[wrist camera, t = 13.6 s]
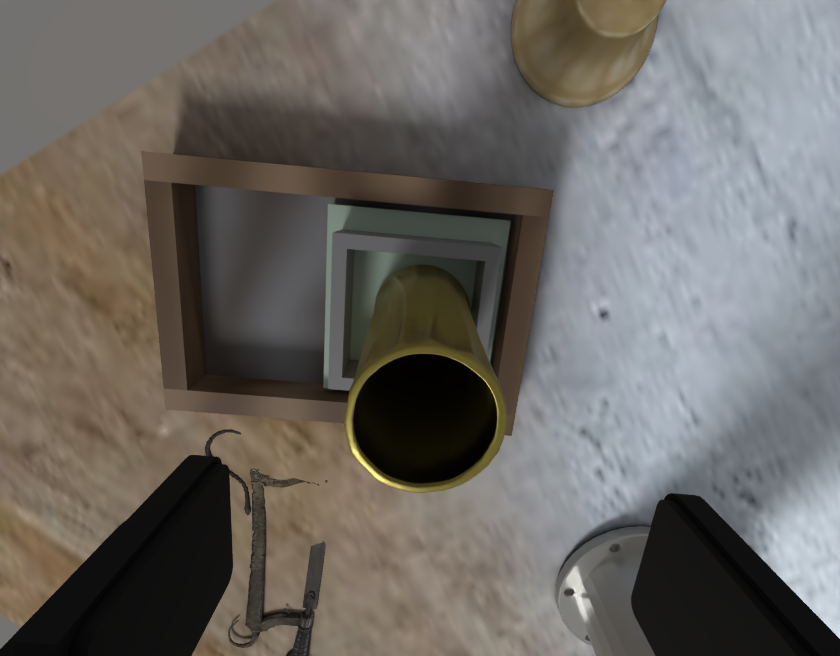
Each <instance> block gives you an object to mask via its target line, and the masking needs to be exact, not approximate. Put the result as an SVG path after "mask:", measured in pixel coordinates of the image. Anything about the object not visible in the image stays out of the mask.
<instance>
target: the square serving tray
mask: <svg viewBox="0 0 840 656" xmlns="http://www.w3.org/2000/svg"><path fill="white" fill-rule="evenodd" d="M509 228H510V221H509V220H501V219H490V218H479V217H468V216H457V215H447V214H436V213H425V212H414V211H403V210H392V209H381V208H370V207H359V206H348V205H338V204H328V220H327V261H326V301H325V342H324V383H323V388H328V389H335V390H347V391H349V390H350V387H351V386H352V383H353V381H354V378H355V375H356V371H357V367H358V364H359V360H360V357H361V354H362V351H363V347H364V344H365V340H366V337H367V334H368V330H369V327H370V323H371V320H372V317H373V313H374V306H375V299H376V296H377V293H378V291H379V289H380V288H381V286H382V285H383V283H384V282H385V281H386V280H387V279H388V278H389V277H390V276H391V275H392V274H394V273H395V272H397V271H399V270H401V269H403V268H406V267H409V266H413V265H431V266H435V267H439V268H441V269H443V270H445V271H447V272H449V273H450V274H451V275H453V276H454V277H455V278H456V279H457V280H458V281H459V282H460V283H461V285H462V286H463V288H464V290H465V291H466V294H467V297H468V301H469V308H470V313H471V316H472V319H473V321H474V324H475V326H476V328H477V332H478V335H479V338H480V340H481V343H482V345H483V347H484V350H485V352H486V354H487V357H488V359H489V361H490V358H491V351H492V344H493V337H494V331H495V324H496V317H497V310H498V303H499V296H500V289H501V283H502V276H503V269H504V262H505V255H506V248H507V241H508V234H509Z"/></svg>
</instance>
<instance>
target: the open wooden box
mask: <svg viewBox="0 0 840 656" xmlns="http://www.w3.org/2000/svg"><path fill="white" fill-rule="evenodd" d="M141 152H142V163H143V173H144V184H145V194H146V205H147V216H148V226H149V237H150V247H151V258H152V269H153V279H154V290H155V301H156V311H157V322H158V332H159V343H160V354H161V364H162V375H163V385H164V396H165V407H166V409H167V410H180V411H193V412H206V413H219V414H232V415H246V416H259V417H272V418H285V419H298V420H311V421H324V422H338V423H344V415H345V411H346V407H347V402H348V396H349V391H347V390H335V389H328V388H323V383H324V342H325V301H326V261H327V220H328V204H338V205H348V206H359V207H370V208H381V209H392V210H403V211H414V212H425V213H436V214H447V215H457V216H468V217H479V218H490V219H501V220H509V221H510V228H509V234H508V241H507V248H506V255H505V262H504V269H503V276H502V283H501V289H500V296H499V303H498V310H497V317H496V324H495V331H494V337H493V344H492V351H491V358H490V364H491V366H492V368H493V370H494V373H495V375H496V377H497V379H498V381H499V383H500V386H501V389H502V392H503V396H504V399H505V404H506V409H507V428H506V432H505V435H508V436H512V430H513V425H514V419H515V413H516V407H517V401H518V395H519V389H520V384H521V378H522V372H523V366H524V360H525V354H526V348H527V342H528V337H529V331H530V325H531V319H532V313H533V307H534V301H535V296H536V290H537V284H538V278H539V272H540V266H541V260H542V255H543V249H544V243H545V237H546V231H547V225H548V219H549V214H550V208H551V202H552V196H553V190H547V189H536V188H526V187H515V186H505V185H494V184H483V183H473V182H462V181H451V180H441V179H430V178H420V177H409V176H398V175H388V174H377V173H367V172H356V171H345V170H335V169H324V168H313V167H303V166H292V165H282V164H271V163H260V162H250V161H239V160H229V159H218V158H207V157H197V156H186V155H176V154H165V153H154V152H144V151H141Z"/></svg>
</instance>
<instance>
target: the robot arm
mask: <svg viewBox="0 0 840 656" xmlns="http://www.w3.org/2000/svg"><path fill="white" fill-rule="evenodd" d="M232 569H233V555H232V530H231V506H230V481H229V468H228V466H227V465H223V464H222V462H221V460H220V458H219V457H212V456H200V455H190V456H188V457H187V458H186V459H185V460H184V461H183V462H182V463H181V464H180V465H179V466H178V467H177V468H176V469H175V470H174V471H173V472H172V474H171V475H170V476H169V477H168V478H167V479H166V480H165V481H164V482H163V483H162V484H161V485H160V486H159V487H158V488H157V489H156V490H155V491H154V492H153V493H152V494H151V495H150V496H149V498H148V499H147V500H146V501H145V502H144V503H143V504H142V505H141V506H140V507H139V508H138V509H137V510H136V511H135V512H134V513H133V514H132V515H131V516H130V517H129V518H128V519H127V520H126V521H125V522H124V523H122V524H121V525H120V526H119V527H118V528H117V529H116V530H115V531H114V532H113V533H112V534H111V535H110V536H109V537H108V538H107V539H106V540H105V541H104V542H103V543H102V544H101V545H100V546H99V547H98V548H97V549H96V551H95V552H94V553H93V554H92V555H91V556H90V557H89V558H88V559H87V560H86V561H85V562H84V563H83V564H82V565H81V566H80V567H79V568H78V569H77V570H76V571H75V572H74V573H73V574H72V575H71V576H70V577H69V579H68V580H67V581H66V582H65V583H64V584H63V585H62V586H61V587H60V588H59V589H58V590H57V591H56V592H55V593H54V594H53V595H52V596H51V597H50V598H49V599H48V600H47V601H46V602H45V603H44V604H43V606H42V607H41V608H40V609H39V610H38V611H37V612H36V613H35V614H34V615H33V616H32V617H31V618H30V619H29V620H28V621H27V622H26V623H25V624H24V625H23V626H22V627H21V628H20V629H19V631H17V633H16V634H15V635H14V636H13V637H12V638H11V639H10V640H9V641H8V642H7V643H6V644H5V645H4V646H3V647H2V648H1V649H0V656H191V655H192V653H193V651H194V650H195V648H196V646H197V644H198V642H199V640H200V638H201V636H202V634H203V632H204V630H205V628H206V626H207V625H208V623H209V621H210V619H211V617H212V615H213V613H214V611H215V609H216V607H217V605H218V603H219V601H220V600H221V598H222V596H223V594H224V592H225V590H226V588H227V586H228V584H229V581H230V578H231V575H232ZM555 597H556V602H557V607H558V610H559V612H560V615H561V618H562V620H563V622H564V624H565V625H566V627H567V628H568V630H569V631H570V632H572V633H573V634H574V635H575V636H576V637H577V638H578V639H580V640H581V641H583V642H584V643H586V644H589V645H591V646H592V647H593V649H594V652H595V654H596V656H840V639H839V638H838V637H837V636H836V635H835V634H834V633H833V632H832V631H831V630H830V629H829V627H828V626H827V625H826V624H825V623H824V622H823V621H822V620H821V619H820V618H819V617H818V616H817V615H816V614H815V613H814V612H813V611H812V610H811V609H810V608H809V607H808V606H807V605H806V604H805V603H804V602H803V601H802V600H801V599H800V598H799V597H798V596H797V595H796V594H795V593H794V592H793V591H792V590H791V589H790V587H789V586H788V585H787V584H786V583H785V582H784V581H783V580H782V579H781V578H780V577H779V576H778V575H777V574H776V573H775V572H774V571H773V570H772V569H771V568H770V567H769V566H768V565H767V564H766V563H765V562H764V561H763V560H762V559H761V558H760V557H759V556H758V555H757V554H756V553H755V552H754V551H753V550H752V549H751V547H750V546H749V545H748V544H747V543H746V542H745V541H744V540H743V539H742V538H741V537H740V536H739V535H738V534H737V533H736V532H735V531H734V530H733V529H732V528H731V527H730V526H729V525H728V524H727V523H726V522H725V521H724V520H723V519H722V518H721V517H720V516H719V515H718V514H717V513H716V512H715V511H714V510H713V509H712V508H711V506H710V505H709V504H708V503H707V502H706V501H705V500H704V499H702V498H701V497H700V496H696V495H685V494H673V493H671V494H668V495H667V496H666V497H665V499H664V500H660V501H659V502H658V504H657V507H656V511H655V514H654V517H653V521H652V524H651V527H646V526H636V527H625V528H620V529H616V530H612V531H609V532H607V533H604V534H602V535H599V536H597V537H595V538H593V539H592V540H590V541H588V542H587V543H585V544H584V545H582V546H581V547H580V548H579V549H578V550H576V551H575V552H574V553H573V554H572V555H571V557H570V558H569V559H568V560H567V561H566V563H565V564H564V566H563V568H562V570H561V571H560V573H559V576H558V579H557V583H556V591H555Z"/></svg>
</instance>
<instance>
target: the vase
mask: <svg viewBox="0 0 840 656" xmlns="http://www.w3.org/2000/svg"><path fill="white" fill-rule="evenodd" d="M344 427H345V431H346V436H347V440H348V444H349V447H350V449H351V452H352V453H353V455H354V457H355V458H356V459H357V461H358V462H359V463H360V464H361V465H362V466H363V467H364V468H365V469H366V470H367V471H368V472H369V473H370V474H371V475H372V476H373V477H375V478H376V479H377V480H379V481H380V482H382V483H384V484H386V485H388V486H391V487H393V488H396V489H399V490H403V491H408V492H415V493H427V492H435V491H443V490H447V489H451V488H454V487H456V486H459V485H461V484H463V483H465V482H467V481H469V480H470V479H472V478H473V477H474V476H476V475H477V474H479V473H480V472H481V471H482V470H483V469H485V468H486V467H487V466H488V465H489V463H490V462H491V461H492V459H493V458H494V457H495V456H496V454H497V453H498V451H499V449H500V446H501V444H502V441H503V439H504V435H505V432H506V428H507V409H506V404H505V399H504V396H503V392H502V389H501V386H500V383H499V381H498V379H497V377H496V375H495V373H494V370H493V368H492V366H491V364H490V361H489V359H488V357H487V354H486V352H485V350H484V347H483V345H482V343H481V340H480V338H479V335H478V332H477V328H476V326H475V324H474V321H473V319H472V316H471V313H470V308H469V301H468V297H467V294H466V291H465V290H464V288H463V286H462V285H461V283H460V282H459V281H458V280H457V279H456V278H455V277H454V276H453V275H451V274H450V273H449V272H447V271H445V270H443V269H441V268H439V267H435V266H431V265H413V266H409V267H406V268H403V269H401V270H399V271H397V272H395V273H394V274H392V275H391V276H390V277H389V278H388V279H387V280H386V281H385V282H384V283H383V285H382V286H381V288H380V289H379V291H378V293H377V296H376V299H375V306H374V313H373V317H372V320H371V323H370V327H369V330H368V334H367V337H366V340H365V344H364V347H363V351H362V354H361V357H360V360H359V364H358V367H357V371H356V375H355V378H354V381H353V383H352V386H351V387H350V390H349V396H348V402H347V407H346V411H345V415H344Z"/></svg>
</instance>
